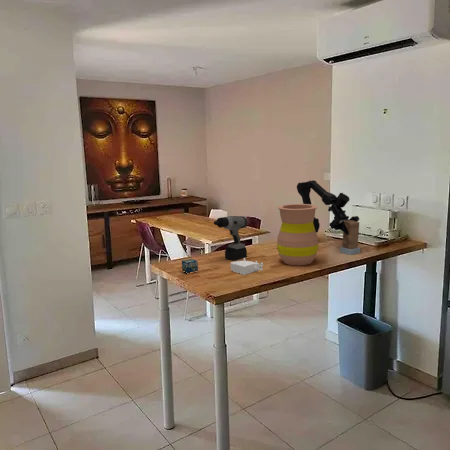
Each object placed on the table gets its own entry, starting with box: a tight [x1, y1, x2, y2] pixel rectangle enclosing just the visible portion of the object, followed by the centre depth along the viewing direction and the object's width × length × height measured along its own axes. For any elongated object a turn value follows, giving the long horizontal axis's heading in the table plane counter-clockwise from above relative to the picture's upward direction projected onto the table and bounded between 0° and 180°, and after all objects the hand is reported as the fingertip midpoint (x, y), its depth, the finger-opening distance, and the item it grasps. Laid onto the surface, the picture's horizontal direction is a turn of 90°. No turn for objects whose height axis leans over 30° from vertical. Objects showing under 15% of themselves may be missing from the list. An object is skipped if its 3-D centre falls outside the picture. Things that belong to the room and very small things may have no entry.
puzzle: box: [181, 258, 199, 273], centre depth 218 cm, size 6×6×6 cm
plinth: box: [339, 246, 361, 256], centre depth 245 cm, size 8×8×3 cm
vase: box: [276, 203, 319, 266], centre depth 228 cm, size 22×22×30 cm
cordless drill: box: [213, 215, 248, 262], centre depth 237 cm, size 8×24×25 cm, turn 137°
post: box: [341, 220, 360, 249], centre depth 243 cm, size 6×6×15 cm
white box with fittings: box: [230, 257, 264, 276], centre depth 217 cm, size 8×20×16 cm
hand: (352, 233), depth 241 cm, fingers closed on post, 6 cm apart
